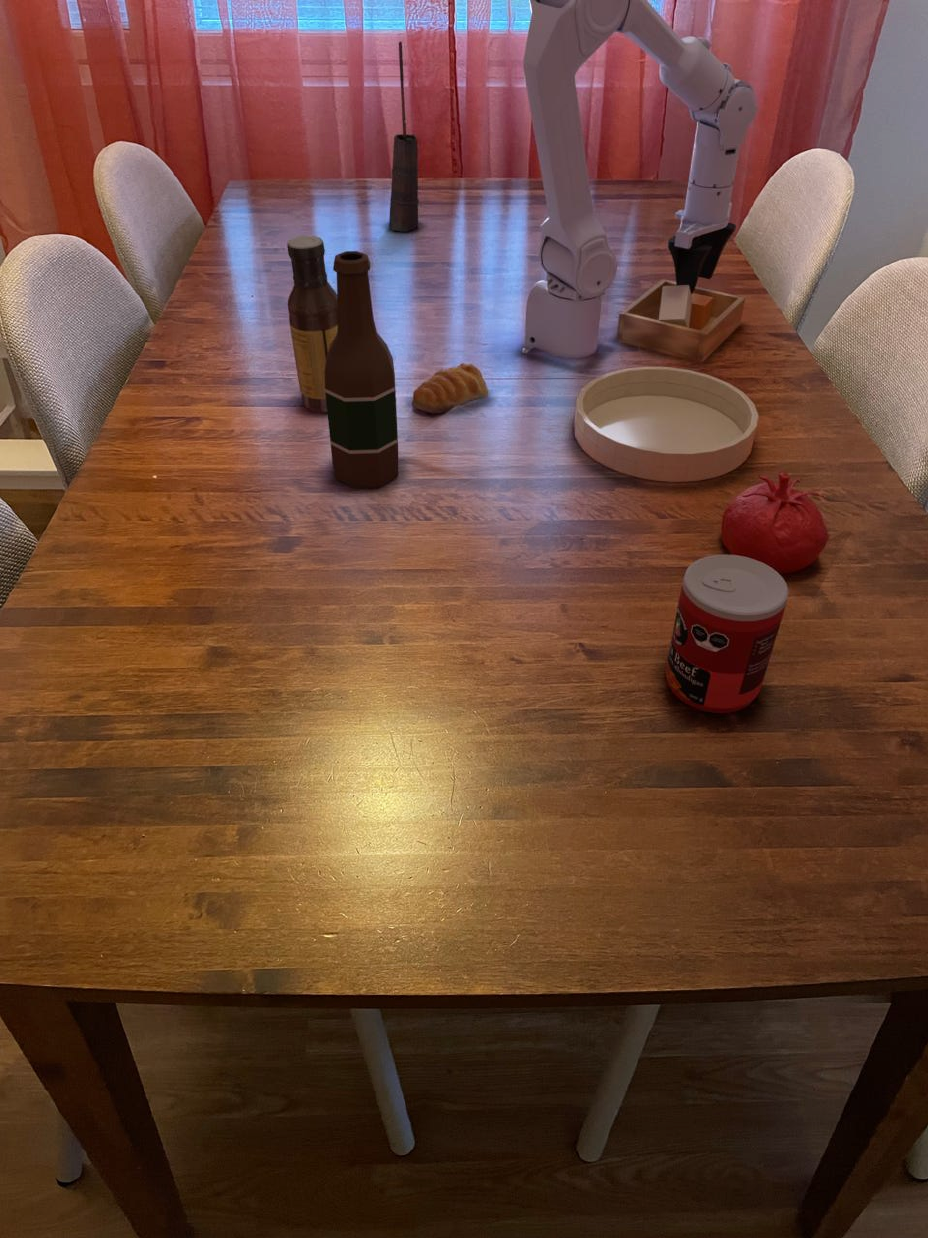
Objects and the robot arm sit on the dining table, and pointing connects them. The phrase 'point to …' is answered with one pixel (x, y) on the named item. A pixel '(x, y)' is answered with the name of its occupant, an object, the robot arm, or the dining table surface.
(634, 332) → the holder
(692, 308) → the orange wooden cube
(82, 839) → the dining table surface
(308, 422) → the dining table surface
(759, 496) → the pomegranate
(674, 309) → the beige wooden cube
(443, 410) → the pastry
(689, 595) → the canned food
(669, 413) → the bowl
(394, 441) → the beer bottle
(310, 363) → the sauce bottle
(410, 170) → the butter churn
